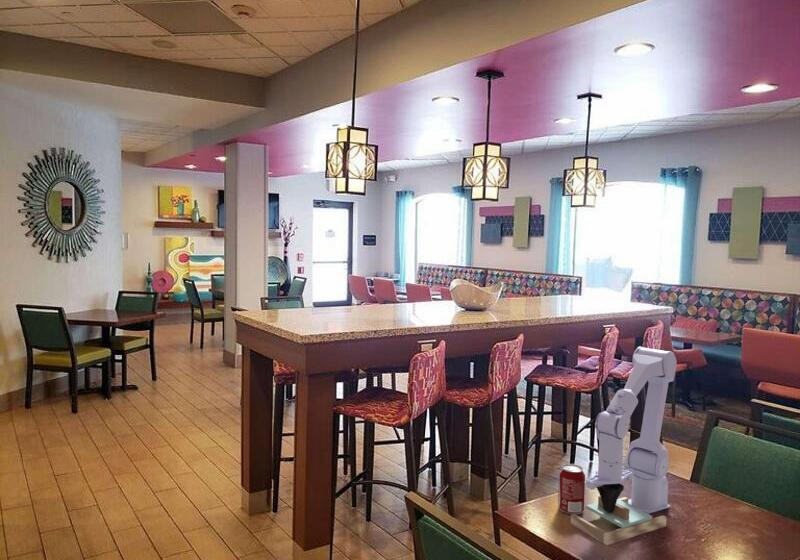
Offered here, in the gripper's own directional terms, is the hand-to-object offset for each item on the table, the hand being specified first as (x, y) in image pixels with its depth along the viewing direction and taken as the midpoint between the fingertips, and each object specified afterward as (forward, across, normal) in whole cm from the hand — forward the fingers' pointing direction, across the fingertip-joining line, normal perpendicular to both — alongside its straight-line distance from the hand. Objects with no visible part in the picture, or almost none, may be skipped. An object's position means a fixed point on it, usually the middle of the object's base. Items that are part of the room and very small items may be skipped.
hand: (608, 511), depth 148 cm
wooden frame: (+4, -3, 0) cm, 5 cm away
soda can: (+4, +2, -11) cm, 12 cm away
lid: (+1, -4, 0) cm, 4 cm away
